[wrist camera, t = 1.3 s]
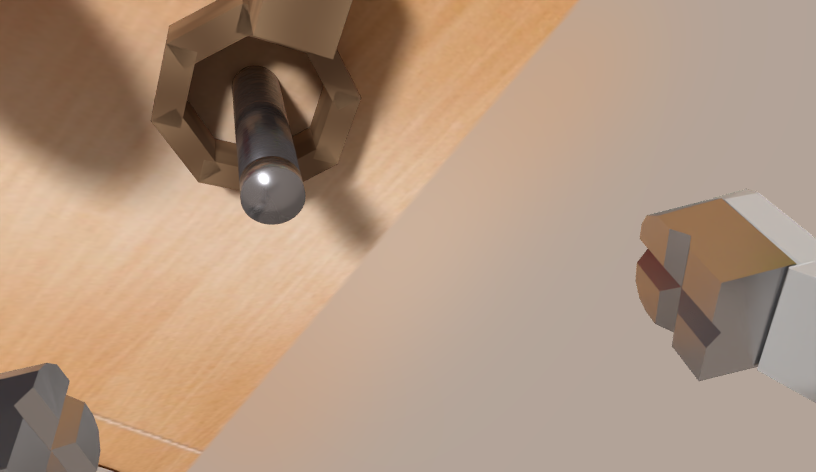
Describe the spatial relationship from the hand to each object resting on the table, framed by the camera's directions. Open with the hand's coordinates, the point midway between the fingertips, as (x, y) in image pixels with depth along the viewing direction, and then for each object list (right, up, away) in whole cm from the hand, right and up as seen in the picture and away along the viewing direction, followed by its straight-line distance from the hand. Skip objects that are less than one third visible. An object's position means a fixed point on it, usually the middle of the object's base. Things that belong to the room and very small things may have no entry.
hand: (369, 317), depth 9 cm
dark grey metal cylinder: (-7, +8, +21) cm, 24 cm away
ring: (-6, +10, +20) cm, 23 cm away
